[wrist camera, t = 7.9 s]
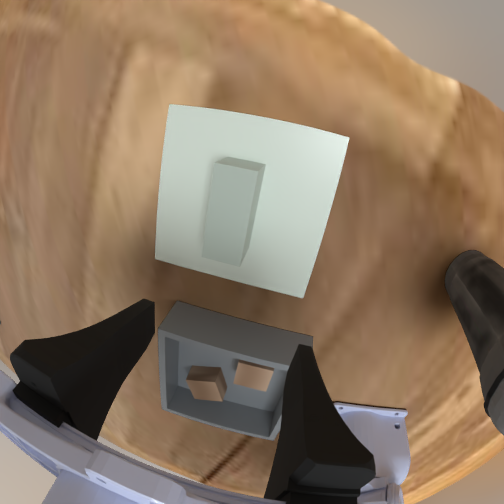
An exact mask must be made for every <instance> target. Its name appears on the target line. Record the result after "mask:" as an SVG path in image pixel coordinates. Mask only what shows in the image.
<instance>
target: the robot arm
mask: <svg viewBox="0 0 504 504" xmlns="http://www.w3.org/2000/svg"><path fill="white" fill-rule="evenodd" d="M154 333H155V302H152V301H149V300H146V299H142V300H141V301H139V302H137V303H135V304H133V305H132V306H130V307H128V308H126V309H124V310H123V311H121V312H119V313H117V314H115V315H113V316H112V317H109V318H107V319H105V320H103V321H101V322H99V323H97V324H95V325H92V326H90V327H87V328H84V329H82V330H79V331H76V332H72V333H68V334H65V335H61V336H56V337H50V338H43V339H32V340H24V341H23V342H22V343H21V344H20V345H19V346H18V347H17V348H16V349H15V350H14V351H13V352H12V353H11V355H10V361H11V363H12V366H13V368H14V370H15V372H16V374H17V376H18V377H19V380H20V382H19V383H18V384H16V383H15V382H14V381H13V380H12V379H11V378H10V377H9V376H8V375H6V374H5V373H4V372H3V371H1V370H0V431H1V432H2V433H3V434H4V435H5V436H6V437H8V438H9V439H10V440H11V441H12V442H13V443H14V444H16V445H17V446H18V447H19V448H21V450H23V451H24V452H25V453H26V454H27V455H29V456H30V457H31V458H32V459H34V460H35V461H36V462H38V463H39V464H40V465H41V466H43V467H44V468H46V469H47V470H48V471H49V472H51V473H52V474H54V475H55V476H56V477H57V479H56V480H55V482H54V484H53V485H52V487H51V489H50V491H49V492H48V494H47V496H46V498H45V499H44V501H43V503H42V504H404V500H403V494H402V489H401V486H399V485H400V484H402V482H403V481H404V480H405V478H406V476H407V474H408V471H409V467H410V450H409V443H408V437H407V430H406V424H405V419H404V417H405V416H406V415H407V414H408V412H407V410H400V409H388V408H378V407H368V406H360V405H352V404H345V403H338V402H336V403H333V402H332V400H331V398H330V396H329V394H328V392H327V389H326V387H325V385H324V382H323V380H322V377H321V374H320V372H319V369H318V366H317V363H316V359H315V356H314V352H313V348H312V347H311V346H307V345H303V344H299V345H298V347H297V349H296V352H295V354H294V357H293V359H292V361H291V364H290V366H289V369H288V371H287V375H286V380H285V385H284V392H283V404H282V416H281V428H280V435H279V440H278V444H277V449H276V454H275V458H274V462H273V466H272V470H271V474H270V478H269V481H268V485H267V488H266V492H265V495H264V498H259V497H253V496H248V495H244V494H239V493H235V492H230V491H226V490H222V489H218V488H215V487H211V486H207V485H204V484H200V483H197V482H194V481H191V480H187V479H185V478H182V477H179V476H176V475H173V474H170V473H167V472H165V471H162V470H159V469H157V468H154V467H152V466H149V465H146V464H144V463H142V462H139V461H137V460H135V459H132V458H130V457H128V456H126V455H124V454H122V453H119V452H118V451H115V450H113V449H111V448H109V447H107V446H105V445H103V444H102V443H100V442H98V441H97V439H98V436H99V433H100V431H101V428H102V425H103V423H104V421H105V418H106V416H107V414H108V411H109V409H110V407H111V405H112V403H113V401H114V399H115V397H116V395H117V393H118V391H119V389H120V387H121V385H122V383H123V382H124V380H125V379H126V377H127V376H128V374H129V373H130V371H131V370H132V369H133V367H134V366H135V364H136V363H137V362H138V360H139V359H140V357H141V356H142V354H143V353H144V352H145V350H146V349H147V347H148V345H149V343H150V341H151V339H152V337H153V335H154Z"/></svg>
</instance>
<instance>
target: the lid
mask: <svg viewBox="0 0 504 504" xmlns="http://www.w3.org/2000/svg"><path fill="white" fill-rule="evenodd" d="M348 142H349V137H345V136H342V135H338V134H335V133H331V132H327V131H323V130H319V129H316V128H311V127H307V126H303V125H299V124H295V123H290V122H286V121H281V120H276V119H271V118H266V117H261V116H255V115H250V114H244V113H238V112H231V111H225V110H218V109H210V108H202V107H193V106H184V105H173V104H169V111H168V117H167V124H166V131H165V139H164V147H163V155H162V164H161V174H160V184H159V196H158V209H157V224H156V244H155V259H157V260H160V261H164V262H167V263H171V264H174V265H178V266H181V267H185V268H189V269H192V270H196V271H199V272H203V273H207V274H210V275H214V276H218V277H222V278H225V279H229V280H233V281H237V282H240V283H244V284H248V285H252V286H256V287H260V288H264V289H268V290H272V291H276V292H279V293H283V294H288V295H292V296H296V297H300V298H303V297H304V294H305V291H306V288H307V285H308V282H309V279H310V276H311V273H312V269H313V266H314V263H315V260H316V257H317V254H318V250H319V247H320V244H321V241H322V237H323V234H324V231H325V227H326V224H327V220H328V217H329V213H330V210H331V206H332V203H333V199H334V196H335V192H336V188H337V185H338V181H339V177H340V173H341V169H342V166H343V162H344V158H345V154H346V150H347V146H348Z"/></svg>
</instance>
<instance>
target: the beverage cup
mask: <svg viewBox="0 0 504 504" xmlns="http://www.w3.org/2000/svg"><path fill="white" fill-rule="evenodd" d="M445 288H446V290H447V292H448V294H449V296H450V300H451V303H452V305H453V307H454V309H455V312H456V314H457V316H458V318H459V321H460V323H461V325H462V328H463V330H464V332H465V335H466V337H467V340H468V342H469V345H470V347H471V350H472V353H473V355H474V358H475V361H476V364H477V367H478V369H479V372H480V382H481V388H482V393H483V397H484V400H485V402H484V408H485V412H486V413H487V415H488V416H489V417H490V418H491V420H492V422H493V424H494V425H495V427H496V428H497V429H498V430H499V431H500V432H501V433H502V434H503V435H504V268H503V267H501V266H500V265H499V264H497V263H496V262H495V261H493V260H492V259H490V258H488V257H487V256H485V255H483V254H482V253H481V252H479V251H476V250H469V251H466V252H464V253H462V254H460V255H459V256H458V257H456V258H455V259H454V261H453V262H452V263H451V264H450V266H449V268H448V270H447V272H446V276H445Z"/></svg>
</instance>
